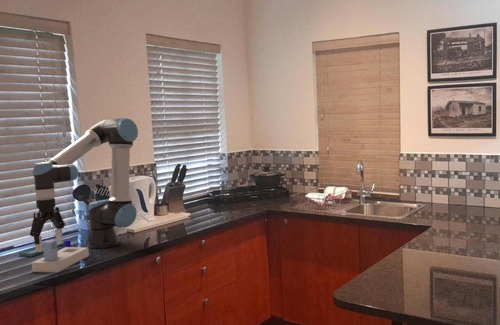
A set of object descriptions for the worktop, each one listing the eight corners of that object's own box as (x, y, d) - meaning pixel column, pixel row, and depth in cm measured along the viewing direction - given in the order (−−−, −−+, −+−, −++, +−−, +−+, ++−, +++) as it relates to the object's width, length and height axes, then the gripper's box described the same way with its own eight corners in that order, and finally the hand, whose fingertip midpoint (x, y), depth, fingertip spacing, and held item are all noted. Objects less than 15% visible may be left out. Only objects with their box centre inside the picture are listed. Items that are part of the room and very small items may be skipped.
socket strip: (66, 257, 231) (65, 247, 231) (89, 258, 228) (88, 247, 228) (32, 273, 208) (31, 262, 207) (57, 274, 205) (56, 263, 204)
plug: (51, 266, 214) (48, 240, 212) (60, 267, 212) (58, 240, 211) (45, 269, 210) (42, 242, 209) (54, 269, 208) (52, 242, 207)
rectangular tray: (58, 243, 262) (58, 238, 262) (71, 244, 259) (71, 239, 258) (17, 257, 239) (17, 252, 238) (31, 258, 235) (31, 253, 235)
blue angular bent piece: (50, 259, 231) (48, 246, 230) (45, 257, 234) (44, 245, 233) (72, 252, 240) (71, 240, 240) (68, 251, 243) (66, 239, 242)
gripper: (56, 194, 221) (59, 240, 223) (17, 203, 197) (22, 255, 199) (70, 194, 219) (74, 240, 221) (33, 203, 195) (38, 255, 197)
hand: (49, 247), depth 210 cm, fingers open, 13 cm apart
